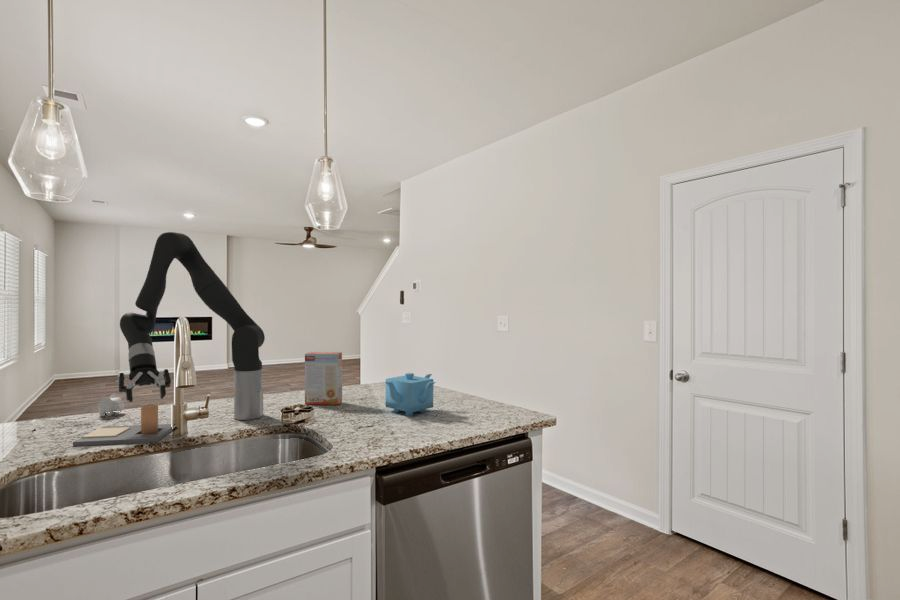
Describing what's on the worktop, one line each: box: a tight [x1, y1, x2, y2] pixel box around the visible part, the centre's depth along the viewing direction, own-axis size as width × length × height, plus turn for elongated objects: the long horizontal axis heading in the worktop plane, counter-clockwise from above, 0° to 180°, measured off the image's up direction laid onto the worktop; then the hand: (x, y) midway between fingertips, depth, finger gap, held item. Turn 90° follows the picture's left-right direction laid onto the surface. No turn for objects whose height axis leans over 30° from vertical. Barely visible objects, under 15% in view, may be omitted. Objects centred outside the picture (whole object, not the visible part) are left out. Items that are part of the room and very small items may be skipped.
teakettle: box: [384, 372, 437, 417], centre depth 177 cm, size 19×19×15 cm
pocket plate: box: [72, 423, 172, 447], centre depth 145 cm, size 22×16×2 cm
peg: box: [140, 404, 159, 434], centre depth 146 cm, size 4×4×9 cm
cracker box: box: [304, 351, 343, 406], centre depth 190 cm, size 14×6×21 cm, turn 84°
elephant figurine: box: [96, 393, 129, 417], centre depth 171 cm, size 8×10×7 cm
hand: (147, 398), depth 150 cm, fingers open, 8 cm apart
